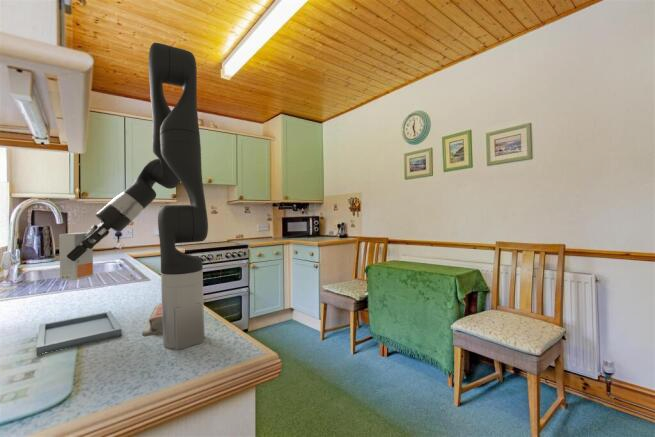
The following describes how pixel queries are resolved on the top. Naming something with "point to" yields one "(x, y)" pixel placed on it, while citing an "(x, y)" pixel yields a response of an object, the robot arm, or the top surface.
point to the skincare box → (81, 265)
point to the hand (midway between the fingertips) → (69, 257)
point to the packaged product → (154, 322)
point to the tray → (76, 332)
